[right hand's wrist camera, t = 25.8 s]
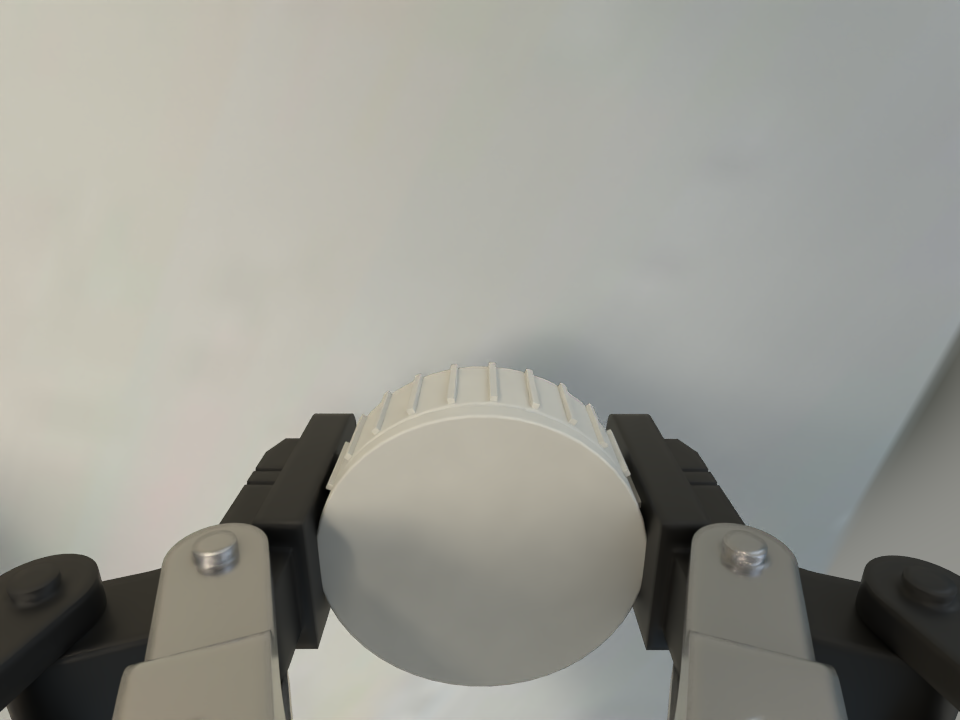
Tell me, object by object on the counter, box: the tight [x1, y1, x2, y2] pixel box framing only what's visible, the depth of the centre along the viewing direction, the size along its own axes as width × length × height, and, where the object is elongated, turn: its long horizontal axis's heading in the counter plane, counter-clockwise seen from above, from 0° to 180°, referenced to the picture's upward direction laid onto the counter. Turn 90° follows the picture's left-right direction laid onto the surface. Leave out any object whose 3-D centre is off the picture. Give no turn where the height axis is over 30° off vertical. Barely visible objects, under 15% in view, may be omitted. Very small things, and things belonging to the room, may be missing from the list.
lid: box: [317, 362, 647, 686], centre depth 10 cm, size 5×5×2 cm
